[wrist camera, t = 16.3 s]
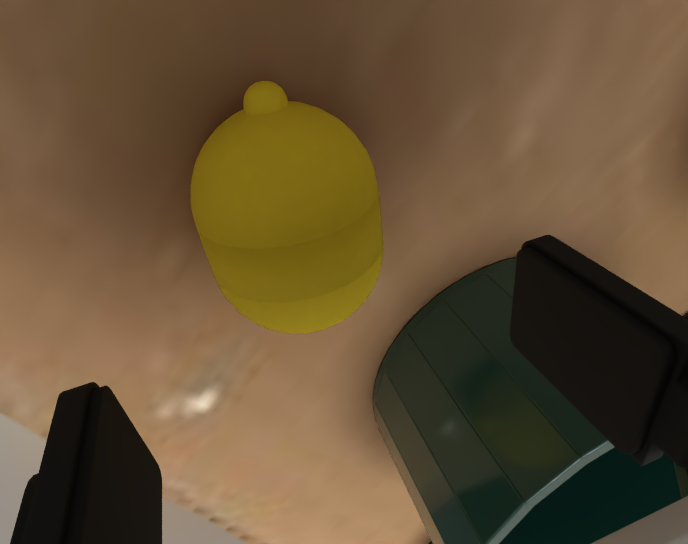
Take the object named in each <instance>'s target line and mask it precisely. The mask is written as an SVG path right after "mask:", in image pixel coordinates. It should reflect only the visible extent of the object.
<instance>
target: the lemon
mask: <svg viewBox="0 0 688 544" xmlns="http://www.w3.org/2000/svg"><path fill="white" fill-rule="evenodd" d="M243 106H244V109H243V110H241V111H239V112H237V113H235V114H233V115H232V116H231V117H229V118H228V119H227V120H226V121H224V122H223V123H222V124H221V125H219V126H218V127H217V128H216V129H215V130H214V132H213V133H212V134H211V136H210V137H209V138H208V139H207V141H206V142H205V144H204V145H203V147H202V149H201V151H200V153H199V155H198V158H197V160H196V162H195V165H194V170H193V175H192V180H191V187H190V189H191V208H192V212H193V216H194V221H195V224H196V228H197V231H198V233H199V236H200V239H201V241H202V244H203V247H204V250H205V252H206V255H207V258H208V261H209V263H210V266H211V269H212V272H213V274H214V277H215V279H216V281H217V283H218V285H219V287H220V289H221V291H222V293H223V295H224V296H225V297H226V298H227V299H228V300H229V301H230V303H231V304H232V305H233V306H234V307H235V308H236V310H237V311H238V312H239V313H241V314H242V315H244V316H245V317H247V318H248V319H250V320H251V321H253V322H254V323H256V324H257V325H259V326H262V327H265V328H267V329H271V330H274V331H277V332H283V333H288V334H303V333H312V332H316V331H320V330H324V329H326V328H329V327H331V326H334V325H336V324H338V323H339V322H341V321H343V320H345V319H346V318H347V317H348V316H350V315H351V314H352V313H353V312H354V311H356V310H357V309H358V308H359V307H360V306H361V305H362V303H363V302H364V301H365V300H366V299H367V297H368V296H369V294H370V292H371V290H372V289H373V287H374V285H375V283H376V281H377V279H378V276H379V272H380V268H381V264H382V258H383V234H382V223H381V212H380V201H379V190H378V185H377V180H376V175H375V171H374V166H373V164H372V162H371V159H370V157H369V155H368V152H367V150H366V149H365V147H364V146H363V145H362V143H361V142H360V140H359V139H358V138H357V136H356V135H355V134H354V132H353V131H352V130H351V129H350V128H348V127H347V126H346V125H345V124H344V123H343V122H342V121H341V120H340V119H338V118H336V117H335V116H333V115H331V114H329V113H328V112H326V111H324V110H322V109H321V108H318V107H315V106H311V105H308V104H305V103H301V102H296V101H288V99H287V96H286V94H285V92H284V91H283V89H282V88H281V87H280V86H278V85H277V84H275V83H273V82H270V81H259V82H256V83H254V84H253V85H251V86H250V87H249V88H248V90H247V91H246V93H245V96H244V100H243Z"/></svg>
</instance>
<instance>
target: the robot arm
mask: <svg viewBox="0 0 688 544" xmlns="http://www.w3.org/2000/svg"><path fill="white" fill-rule="evenodd" d="M510 339H511V342H512V344H513V345H514V347H515V348H516V349H517V350H518V351H519V352H520V353H521V354H522V355H523V356H524V357H525V358H526V359H527V360H528V361H529V362H530V363H531V364H532V365H533V366H534V367H535V368H536V369H537V370H538V371H539V372H540V373H541V374H542V375H543V376H544V377H545V378H546V379H547V380H548V381H549V382H550V383H551V384H552V385H553V386H554V387H555V388H556V389H557V390H558V391H559V392H560V393H561V394H562V395H563V396H564V397H565V398H566V399H567V400H568V401H569V402H570V403H571V404H572V405H573V406H574V407H575V408H576V409H577V410H578V411H579V412H580V413H581V414H582V415H583V416H584V417H585V418H586V419H587V420H588V421H589V422H590V423H591V424H592V425H593V426H594V427H595V428H596V429H597V430H598V431H599V432H600V433H601V434H602V435H603V436H604V437H605V438H606V439H607V440H608V441H609V442H610V443H611V444H612V445H613V446H614V447H615V448H616V449H617V450H619V451H620V452H621V453H623V454H626V455H630V456H631V457H632V458H633V459H634V460H635V461H636V462H637V463H638V464H639V465H640V466H643V465H646V464H648V463H650V462H652V461H654V460H656V459H658V458H660V457H662V455H663V453H665V454H666V455H667V456H668V457H669V458H670V459H671V460H673V462H674V467H675V471H676V476H677V481H678V485H679V490H680V494H681V500H679V501H677V502H675V503H672V504H670V505H668V506H666V507H664V508H662V509H660V510H658V511H656V512H654V513H652V514H650V515H648V516H646V517H644V518H642V519H640V520H638V521H636V522H634V523H632V524H630V525H628V526H626V527H624V528H622V529H620V530H618V531H616V532H614V533H612V534H609V535H607V536H605V537H603V538H601V539H599V540H597V541H595V542H593V543H591V544H688V319H686V318H685V317H683V316H681V315H680V314H678V313H676V312H675V311H673V310H672V309H670V308H668V307H667V306H665V305H663V304H662V303H660V302H659V301H657V300H655V299H654V298H652V297H651V296H649V295H647V294H646V293H644V292H642V291H641V290H639V289H638V288H636V287H634V286H633V285H631V284H629V283H628V282H626V281H625V280H623V279H621V278H620V277H618V276H616V275H615V274H613V273H612V272H610V271H608V270H607V269H605V268H604V267H602V266H600V265H599V264H597V263H595V262H594V261H592V260H591V259H589V258H587V257H586V256H584V255H582V254H581V253H579V252H578V251H576V250H574V249H573V248H571V247H569V246H568V245H566V244H565V243H563V242H561V241H560V240H558V239H556V238H555V237H553V236H551V235H545V236H542V237H539V238H535V239H532V240H529V241H527V242H525V243H524V244H523V245H522V248H521V250H519V252H518V253H517V260H516V271H515V281H514V291H513V302H512V312H511V323H510ZM10 544H162V477H161V472H160V468H159V466H158V464H157V462H156V460H155V459H154V457H153V456H152V454H151V452H150V451H149V449H148V448H147V446H146V444H145V443H144V441H143V440H142V438H141V436H140V435H139V433H138V432H137V430H136V429H135V427H134V425H133V424H132V422H131V421H130V419H129V417H128V416H127V414H126V413H125V411H124V410H123V408H122V406H121V405H120V403H119V402H118V400H117V398H116V397H115V395H114V394H113V392H112V390H111V389H110V388H109V387H108V386H103V387H99V386H98V385H97V384H96V383H94V382H91V383H88V384H85V385H82V386H79V387H76V388H73V389H70V390H66V391H63V392H62V393H60V395H59V397H58V400H57V404H56V408H55V411H54V415H53V419H52V423H51V427H50V431H49V435H48V439H47V443H46V446H45V450H44V454H43V458H42V462H41V466H40V470H39V473H38V474H35V475H33V477H32V478H31V479H30V480H29V481H28V484H27V486H26V489H25V492H24V495H23V499H22V503H21V506H20V510H19V513H18V517H17V521H16V524H15V528H14V531H13V535H12V538H11V542H10Z"/></svg>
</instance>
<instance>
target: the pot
mask: <svg viewBox="0 0 688 544" xmlns="http://www.w3.org/2000/svg"><path fill="white" fill-rule="evenodd" d="M516 260H517V257H515V258H511V259H508V260H504V261H500V262H498V263H495V264H492V265H490V266H487V267H484V268H482V269H480V270H478V271H476V272H474V273H472V274H470V275H468V276H466V277H464V278H463V279H461V280H460V281H458V282H456V283H455V284H453V285H452V286H450V287H448V288H447V289H446V290H444V291H443V292H442V293H440V294H439V295H438V296H436V297H435V298H434V299H433V300H431V301H430V302H429V303H428V304H427V305H426V306H425V307H424V308H423V309H422V310H420V311H419V312H418V313H417V314H416V315H415V317H414V318H413V319H412V320H411V321H410V322H409V323H408V324H407V325H406V326H405V328H404V329H403V330H402V332H401V333H400V334H399V336H398V337H397V338H396V340H395V341H394V342H393V344H392V346H391V347H390V349H389V351H388V353H387V354H386V356H385V358H384V360H383V362H382V365H381V367H380V369H379V372H378V375H377V379H376V382H375V386H374V394H373V410H374V414H375V418H376V421H377V424H378V429H379V432H380V434H381V436H382V438H383V440H384V442H385V444H386V446H387V448H388V450H389V453H390V455H391V457H392V459H393V461H394V463H395V465H396V467H397V469H398V471H399V474H400V476H401V478H402V480H403V482H404V484H405V486H406V488H407V490H408V492H409V495H410V497H411V499H412V501H413V503H414V505H415V507H416V509H417V511H418V513H419V516H420V518H421V520H422V522H423V524H424V526H425V528H426V530H427V532H428V534H429V537H430V539H431V541H432V543H433V544H591V543H593V542H595V541H597V540H599V539H601V538H603V537H605V536H607V535H609V534H612V533H614V532H616V531H618V530H620V529H622V528H624V527H626V526H628V525H630V524H632V523H634V522H636V521H638V520H640V519H642V518H644V517H646V516H648V515H650V514H652V513H654V512H656V511H658V510H660V509H662V508H664V507H666V506H668V505H670V504H672V503H675V502H677V501H679V500H681V494H680V490H679V485H678V481H677V476H676V471H675V467H674V462H673V460H671V459H670V458H669V457H668V456H667V455H666V454H665V453H663V455H662V457H660V458H658V459H656V460H654V461H652V462H650V463H648V464H646V465H643V466H640V465H639V464H638V463H637V462H636V461H635V460H634V459H633V458H632V457H631V456H630V455H626V454H623V453H621V452H620V451H619V450H617V449H616V448H615V447H614V446H613V445H612V444H611V443H610V442H609V441H608V440H607V439H606V438H605V437H604V436H603V435H602V434H601V433H600V432H599V431H598V430H597V429H596V428H595V427H594V426H593V425H592V424H591V423H590V422H589V421H588V420H587V419H586V418H585V417H584V416H583V415H582V414H581V413H580V412H579V411H578V410H577V409H576V408H575V407H574V406H573V405H572V404H571V403H570V402H569V401H568V400H567V399H566V398H565V397H564V396H563V395H562V394H561V393H560V392H559V391H558V390H557V389H556V388H555V387H554V386H553V385H552V384H551V383H550V382H549V381H548V380H547V379H546V378H545V377H544V376H543V375H542V374H541V373H540V372H539V371H538V370H537V369H536V368H535V367H534V366H533V365H532V364H531V363H530V362H529V361H528V360H527V359H526V358H525V357H524V356H523V355H522V354H521V353H520V352H519V351H518V350H517V349H516V348H515V347H514V345H513V344H512V342H511V339H510V323H511V312H512V302H513V291H514V281H515V271H516Z"/></svg>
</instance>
